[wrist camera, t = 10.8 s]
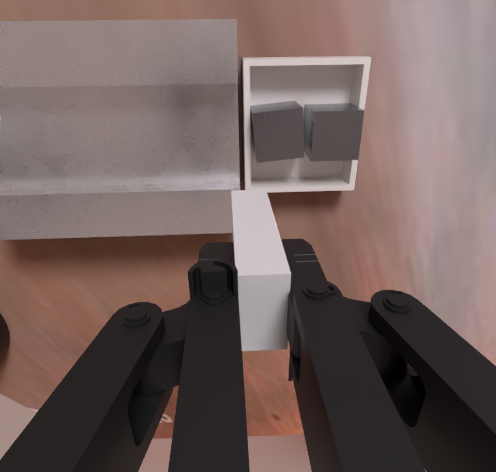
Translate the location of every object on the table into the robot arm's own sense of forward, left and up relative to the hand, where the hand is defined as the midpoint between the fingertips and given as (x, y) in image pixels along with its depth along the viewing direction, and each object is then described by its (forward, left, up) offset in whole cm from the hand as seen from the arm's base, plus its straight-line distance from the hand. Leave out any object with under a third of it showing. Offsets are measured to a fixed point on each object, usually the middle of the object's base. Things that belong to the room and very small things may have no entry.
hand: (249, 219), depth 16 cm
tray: (0, -5, -20) cm, 20 cm away
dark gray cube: (0, -3, -19) cm, 20 cm away
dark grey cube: (0, -6, -17) cm, 18 cm away
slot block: (0, +11, -20) cm, 23 cm away
